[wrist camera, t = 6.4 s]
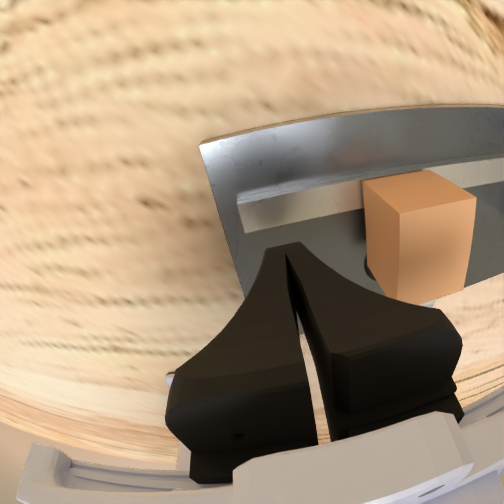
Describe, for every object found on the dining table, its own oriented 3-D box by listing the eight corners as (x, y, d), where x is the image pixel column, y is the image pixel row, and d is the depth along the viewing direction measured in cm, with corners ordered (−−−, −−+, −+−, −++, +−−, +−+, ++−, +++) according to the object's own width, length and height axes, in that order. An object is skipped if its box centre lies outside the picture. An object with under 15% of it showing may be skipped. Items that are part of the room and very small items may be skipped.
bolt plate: (530, 250, 17) (571, 288, 12) (258, 329, 19) (263, 406, 14) (544, 109, 12) (602, 130, 6) (202, 141, 13) (178, 173, 8)
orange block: (420, 265, 15) (457, 312, 12) (363, 280, 16) (392, 334, 12) (423, 166, 13) (476, 197, 9) (357, 177, 13) (399, 213, 9)
